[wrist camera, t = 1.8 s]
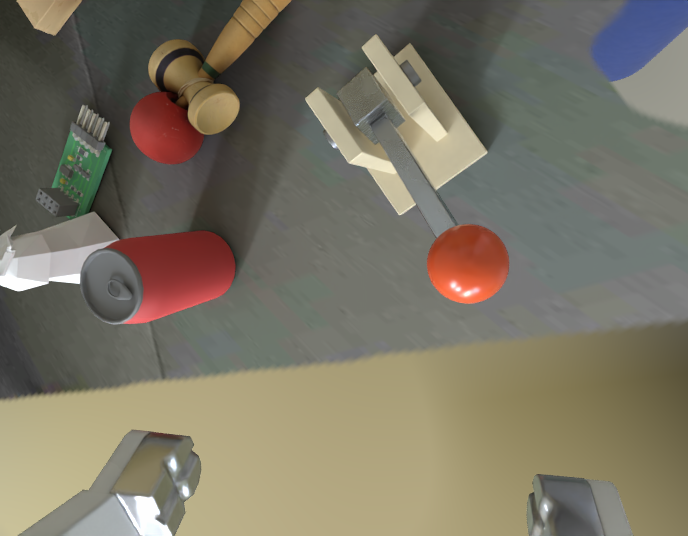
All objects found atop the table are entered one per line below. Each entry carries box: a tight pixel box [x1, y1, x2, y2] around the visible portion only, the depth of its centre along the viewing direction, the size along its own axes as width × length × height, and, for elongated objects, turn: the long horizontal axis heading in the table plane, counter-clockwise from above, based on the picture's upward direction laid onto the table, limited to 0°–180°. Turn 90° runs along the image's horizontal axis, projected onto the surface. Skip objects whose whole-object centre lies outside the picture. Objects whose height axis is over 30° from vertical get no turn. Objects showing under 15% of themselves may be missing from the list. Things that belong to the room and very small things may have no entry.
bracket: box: [305, 34, 487, 215], centre depth 30 cm, size 10×8×13 cm
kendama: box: [130, 0, 291, 164], centre depth 38 cm, size 8×6×18 cm
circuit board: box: [36, 105, 112, 220], centre depth 45 cm, size 12×3×5 cm
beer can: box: [80, 230, 235, 324], centre depth 38 cm, size 7×7×12 cm
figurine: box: [0, 212, 119, 291], centre depth 39 cm, size 7×8×18 cm
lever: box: [337, 67, 509, 303], centre depth 23 cm, size 14×4×4 cm, turn 38°
